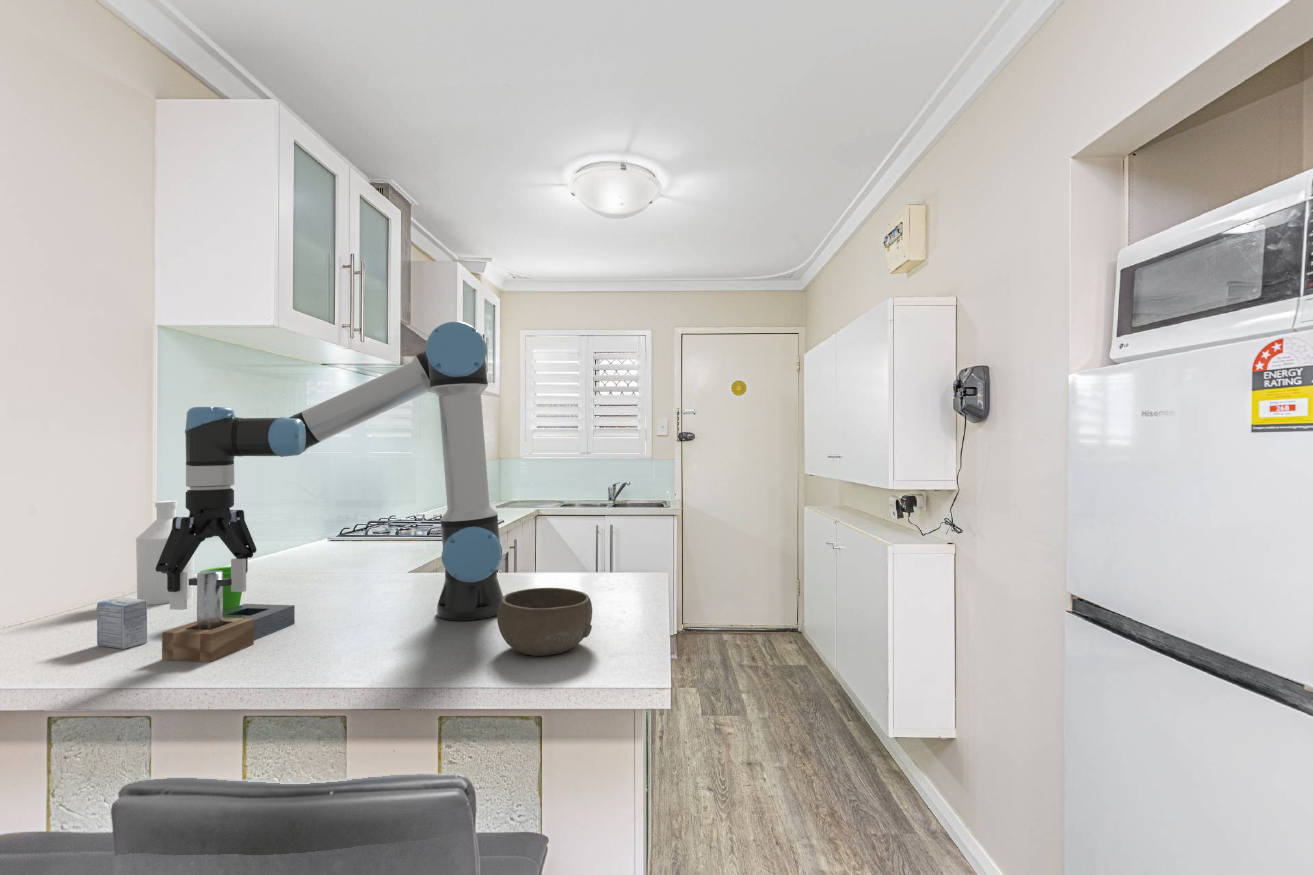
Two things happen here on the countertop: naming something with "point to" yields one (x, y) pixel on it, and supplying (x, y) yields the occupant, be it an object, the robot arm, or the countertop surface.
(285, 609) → the block
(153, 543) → the bottle
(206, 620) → the key
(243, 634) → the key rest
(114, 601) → the medicine box
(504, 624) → the bowl
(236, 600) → the cup
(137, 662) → the countertop surface
